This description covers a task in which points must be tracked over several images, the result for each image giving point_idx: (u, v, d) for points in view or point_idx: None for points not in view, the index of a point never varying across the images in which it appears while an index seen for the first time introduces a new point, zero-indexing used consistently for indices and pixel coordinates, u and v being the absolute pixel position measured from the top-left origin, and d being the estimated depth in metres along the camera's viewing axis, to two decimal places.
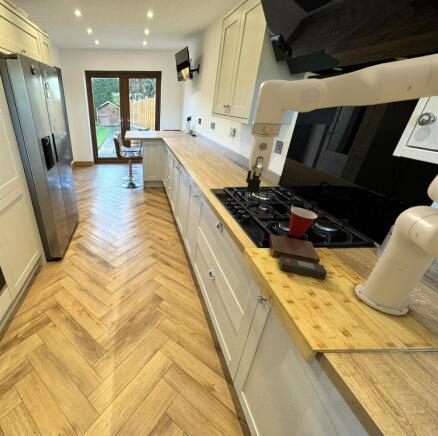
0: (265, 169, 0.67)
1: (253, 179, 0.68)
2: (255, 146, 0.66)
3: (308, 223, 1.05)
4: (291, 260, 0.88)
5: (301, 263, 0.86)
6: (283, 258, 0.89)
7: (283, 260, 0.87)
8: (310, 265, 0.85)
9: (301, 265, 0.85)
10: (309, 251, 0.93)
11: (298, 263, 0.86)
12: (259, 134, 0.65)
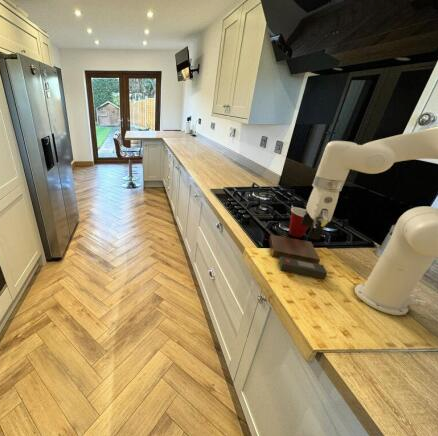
0: (328, 219, 0.72)
1: (316, 228, 0.73)
2: (320, 199, 0.71)
3: None
4: (291, 260, 0.88)
5: (301, 263, 0.86)
6: (283, 258, 0.89)
7: (283, 260, 0.87)
8: (310, 265, 0.85)
9: (301, 265, 0.85)
10: (309, 251, 0.93)
11: (298, 263, 0.86)
12: (324, 188, 0.70)
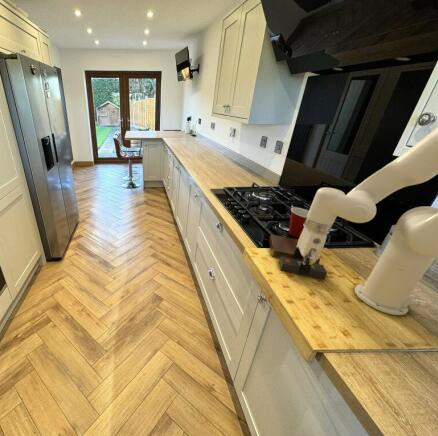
0: (317, 258, 0.78)
1: (305, 265, 0.80)
2: (309, 239, 0.77)
3: None
4: (291, 260, 0.88)
5: None
6: (283, 258, 0.89)
7: (283, 260, 0.87)
8: None
9: None
10: None
11: (298, 263, 0.86)
12: (314, 230, 0.77)
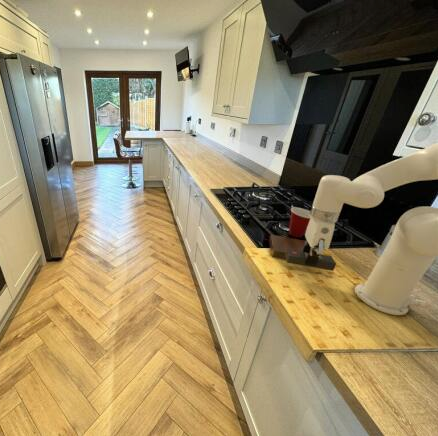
0: (326, 248, 0.76)
1: (312, 256, 0.79)
2: (317, 229, 0.75)
3: (308, 223, 1.05)
4: (298, 252, 0.85)
5: None
6: (289, 250, 0.86)
7: (290, 252, 0.85)
8: None
9: None
10: None
11: (305, 255, 0.83)
12: (321, 219, 0.74)
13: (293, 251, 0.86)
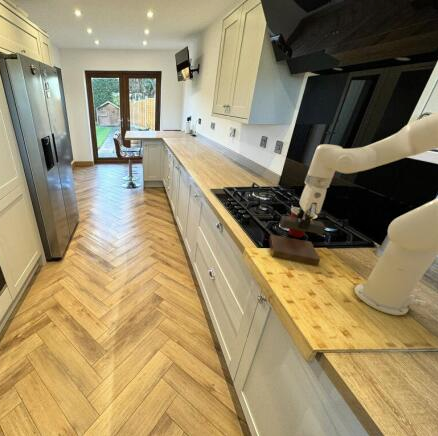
0: (318, 212, 0.84)
1: (305, 220, 0.87)
2: (310, 194, 0.83)
3: None
4: (292, 218, 0.93)
5: None
6: (284, 216, 0.94)
7: (284, 218, 0.93)
8: None
9: None
10: (309, 251, 0.93)
11: (298, 220, 0.91)
12: (314, 185, 0.82)
13: (287, 217, 0.94)
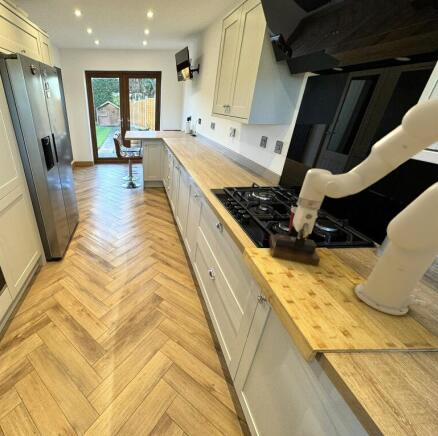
0: (309, 232, 0.88)
1: (300, 239, 0.89)
2: (302, 215, 0.87)
3: None
4: (285, 236, 0.98)
5: (294, 238, 0.96)
6: (278, 235, 0.99)
7: (278, 236, 0.98)
8: None
9: (294, 240, 0.95)
10: None
11: (291, 239, 0.96)
12: (306, 207, 0.86)
13: (281, 235, 0.98)
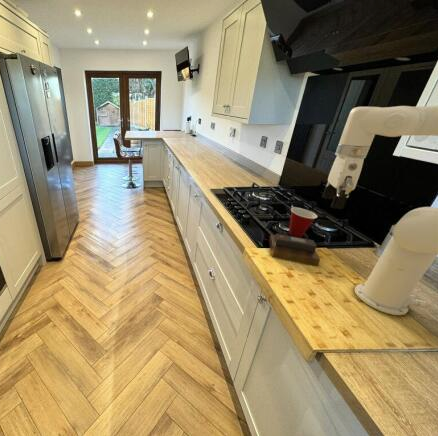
0: (353, 187, 0.71)
1: (340, 196, 0.73)
2: (344, 166, 0.71)
3: (308, 223, 1.05)
4: (285, 236, 0.98)
5: (294, 238, 0.96)
6: (278, 235, 0.99)
7: (278, 236, 0.98)
8: (302, 240, 0.95)
9: (294, 240, 0.95)
10: None
11: (291, 239, 0.96)
12: (348, 155, 0.70)
13: (281, 235, 0.98)
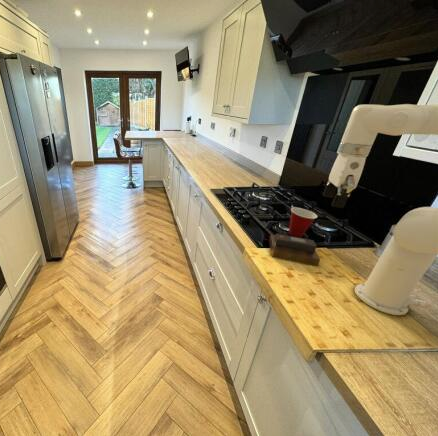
0: (354, 186, 0.71)
1: (341, 195, 0.72)
2: (346, 165, 0.70)
3: (308, 223, 1.05)
4: (285, 236, 0.98)
5: (294, 238, 0.96)
6: (278, 235, 0.99)
7: (278, 236, 0.98)
8: (302, 240, 0.95)
9: (294, 240, 0.95)
10: None
11: (291, 239, 0.96)
12: (350, 154, 0.69)
13: (281, 235, 0.98)
